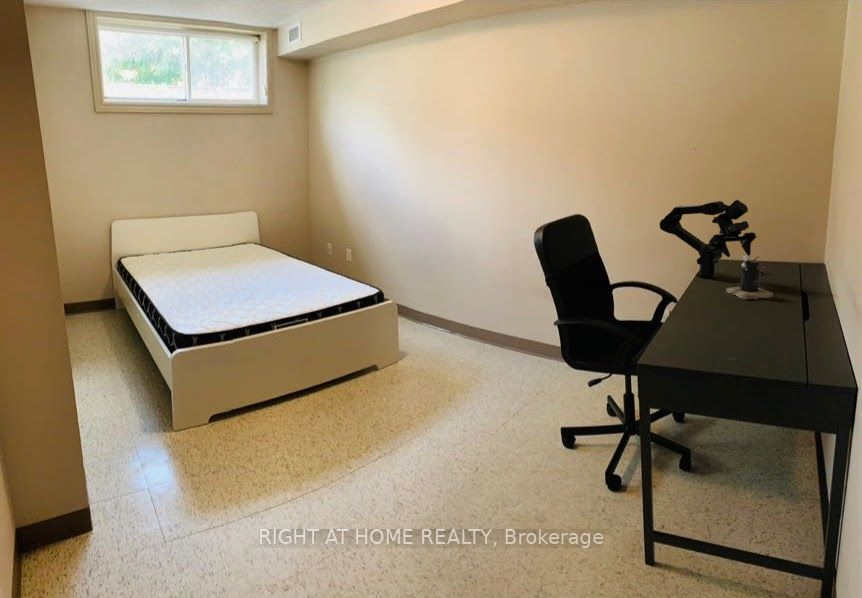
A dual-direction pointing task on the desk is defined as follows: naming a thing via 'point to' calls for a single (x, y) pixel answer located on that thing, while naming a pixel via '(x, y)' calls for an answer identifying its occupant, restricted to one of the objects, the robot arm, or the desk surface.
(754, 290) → the supplement bottle
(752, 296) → the base slab
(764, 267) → the toy character
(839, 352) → the desk surface
